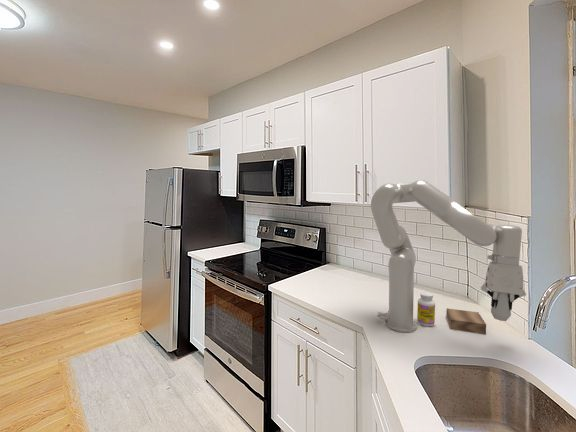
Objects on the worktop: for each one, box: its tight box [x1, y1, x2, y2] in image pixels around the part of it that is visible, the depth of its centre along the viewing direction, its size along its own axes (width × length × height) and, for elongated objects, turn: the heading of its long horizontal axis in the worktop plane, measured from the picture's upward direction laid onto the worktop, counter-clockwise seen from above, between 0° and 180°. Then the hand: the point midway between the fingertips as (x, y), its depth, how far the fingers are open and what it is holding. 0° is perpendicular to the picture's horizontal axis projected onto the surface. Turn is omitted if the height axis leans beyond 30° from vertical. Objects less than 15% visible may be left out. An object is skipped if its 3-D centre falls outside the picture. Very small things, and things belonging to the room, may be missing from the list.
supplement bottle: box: [416, 291, 436, 327], centre depth 118 cm, size 7×7×13 cm
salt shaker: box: [490, 292, 512, 322], centre depth 99 cm, size 6×6×13 cm
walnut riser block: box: [445, 308, 487, 335], centre depth 116 cm, size 12×12×4 cm
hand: (501, 309), depth 99 cm, fingers closed on salt shaker, 3 cm apart
